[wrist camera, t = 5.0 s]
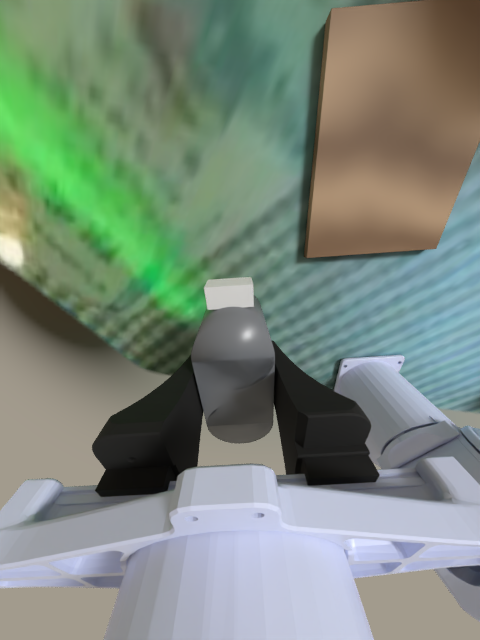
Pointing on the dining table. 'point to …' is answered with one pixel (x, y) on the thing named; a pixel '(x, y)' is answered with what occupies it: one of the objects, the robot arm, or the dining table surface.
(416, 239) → the walnut pad
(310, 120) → the dining table surface
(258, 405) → the grey rounded bottle
